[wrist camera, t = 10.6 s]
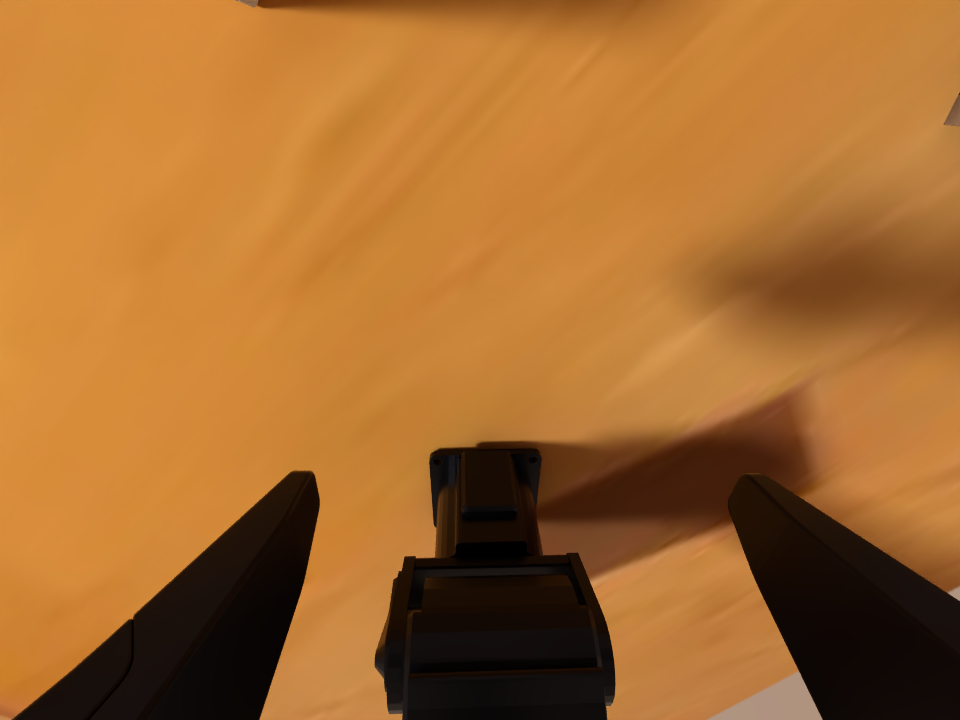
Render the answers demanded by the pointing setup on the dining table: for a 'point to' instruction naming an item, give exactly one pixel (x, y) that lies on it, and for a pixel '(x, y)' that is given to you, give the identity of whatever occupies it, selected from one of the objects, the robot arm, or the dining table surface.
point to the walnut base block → (954, 114)
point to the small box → (250, 2)
